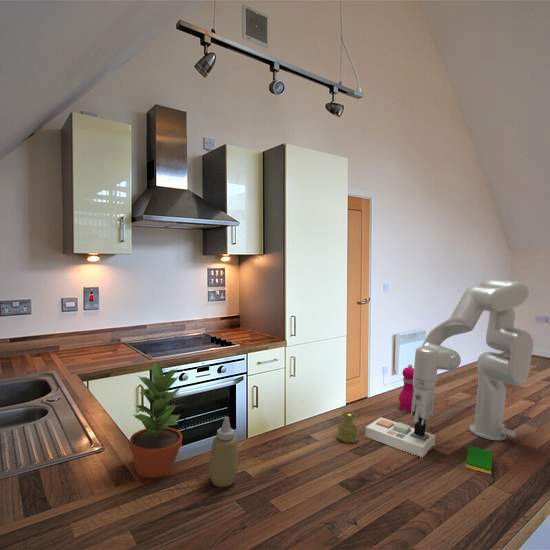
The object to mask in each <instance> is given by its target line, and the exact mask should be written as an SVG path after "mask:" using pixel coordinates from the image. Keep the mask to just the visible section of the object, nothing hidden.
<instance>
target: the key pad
mask: <svg viewBox="0 0 550 550" xmlns="http://www.w3.org/2000/svg"><path fill="white" fill-rule="evenodd" d="M381 419H383V420H386V421H389V422H392V423H394V424H393V426H394V425H395V424H397V423H398V422H396V421H393V420H391V419H387V418H384V417H379V418H377V419H376V420H374V421H373V422H372V423H370V424H368V425H367V426H365V431H364V437H365V438H368V439H370V440H373V441H376V442H379V443H382V444H384V445H387V446H389V447H392V448H394V449H397V450H400V451H402V450H403V452H405V451H406V452H405V453H407V452H409V453H408V454H410V453H411V455H413V454H414V455H413V456H415V455H417V456H416V457H418V456H420V457H419V458H421V457H422V458H423V457H425V455H427V453H428V452H429V451H430V450H431V449H432V448H433V447H434V446H435V445H436V444H435V443H436V435H435V434H432V433H430V432H427V431H425V434H428V439H427V440H425V441H423V440H420V439H417V438H414V437H411V434H412V433H413V432H414V429H415V427H411V430H410V432H409V433H408V434H407V435H405V434H403V433H400V432H397V431H394V430H393V426H392V427H391V428H389V429H388V428H385V427H382V426H380V425H377V422H378V421H380V420H381ZM432 446H433V447H432ZM431 447H432V448H431ZM430 448H431V449H430ZM429 449H430V450H429ZM428 450H429V451H428ZM427 451H428V452H427Z"/></svg>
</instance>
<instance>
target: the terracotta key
mask: <svg viewBox="0 0 550 550" xmlns="http://www.w3.org/2000/svg"><path fill="white" fill-rule="evenodd" d="M393 424H394V423H392V422H389V421H386V420H383V419H381V420H380V421H378V422H377V425H380V426H382V427H385V428H388V429H389V428H391V427H392V426H393Z"/></svg>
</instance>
